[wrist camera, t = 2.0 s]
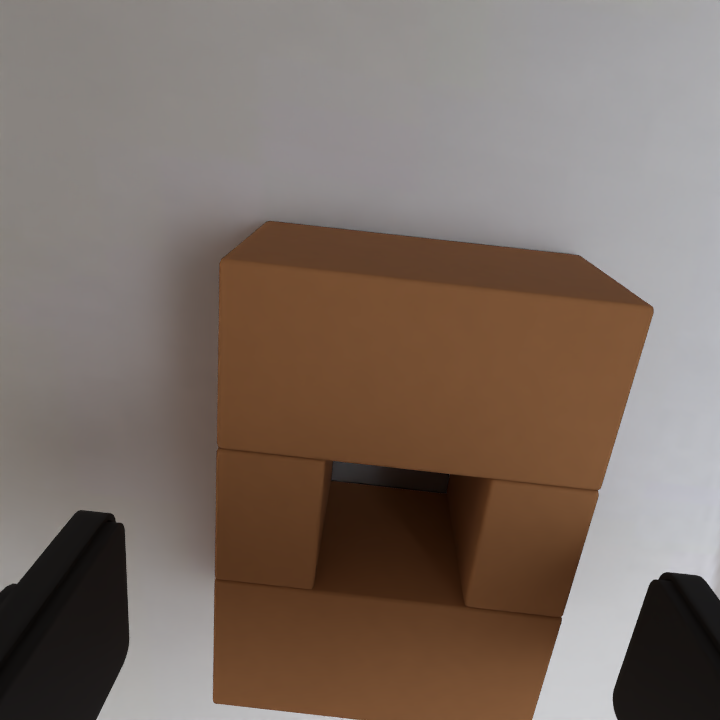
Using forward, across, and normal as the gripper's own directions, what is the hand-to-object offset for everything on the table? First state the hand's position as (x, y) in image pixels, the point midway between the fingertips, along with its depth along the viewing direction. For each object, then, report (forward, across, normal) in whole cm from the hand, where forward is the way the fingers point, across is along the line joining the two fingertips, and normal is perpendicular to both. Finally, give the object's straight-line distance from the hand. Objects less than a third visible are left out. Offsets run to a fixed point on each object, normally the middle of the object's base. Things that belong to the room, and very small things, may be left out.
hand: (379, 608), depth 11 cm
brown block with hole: (+5, 0, -1) cm, 5 cm away
